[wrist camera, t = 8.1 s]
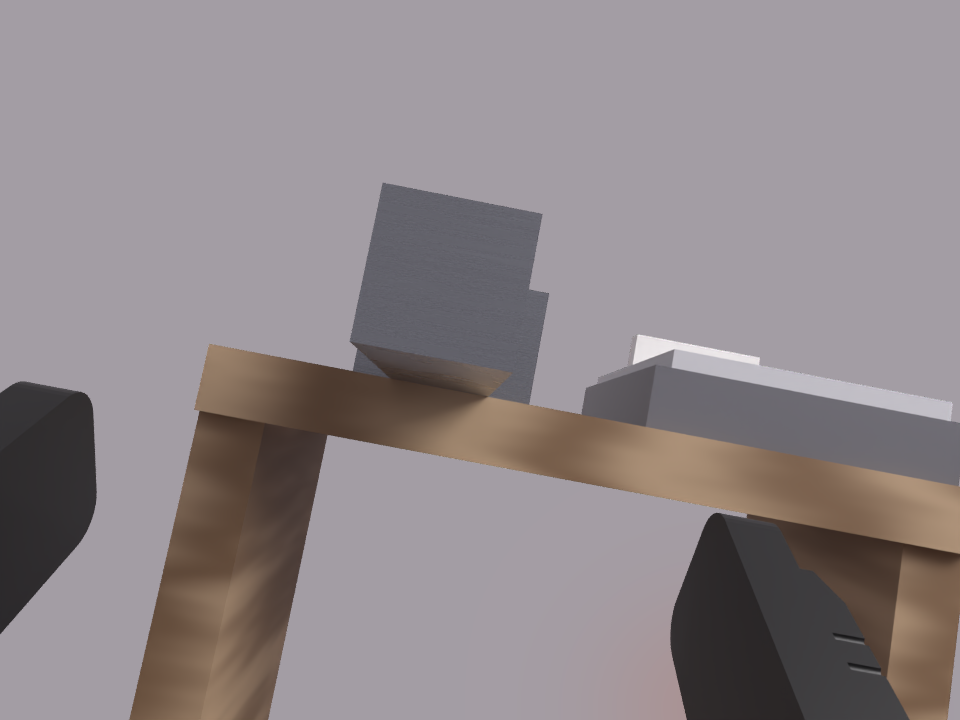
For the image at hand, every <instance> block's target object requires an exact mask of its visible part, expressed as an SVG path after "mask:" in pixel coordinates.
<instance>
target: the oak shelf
mask: <svg viewBox="0 0 960 720" xmlns="http://www.w3.org/2000/svg"><path fill="white" fill-rule="evenodd" d="M195 410H199V411H200V412H199V416H198V421H197V425H196V429H195V434H194V438H193V443H192V447H191V451H190V456H189V460H188V465H187V469H186V474H185V478H184V482H183V487H182V491H181V495H180V500H179V504H178V509H177V513H176V517H175V522H174V526H173V531H172V535H171V539H170V544H169V548H168V553H167V557H166V561H165V566H164V570H163V575H162V579H161V583H160V588H159V592H158V597H157V601H156V606H155V610H154V614H153V619H152V623H151V627H150V632H149V636H148V641H147V645H146V650H145V654H144V658H143V662H142V667H141V671H140V676H139V680H138V684H137V689H136V693H135V698H134V702H133V707H132V711H131V715H130V720H268V717H269V712H270V708H271V703H272V698H273V693H274V688H275V684H276V679H277V674H278V670H279V665H280V660H281V655H282V650H283V645H284V641H285V636H286V631H287V626H288V622H289V617H290V611H291V607H292V602H293V598H294V593H295V588H296V583H297V578H298V574H299V568H300V564H301V559H302V554H303V550H304V545H305V540H306V535H307V530H308V526H309V521H310V516H311V511H312V506H313V501H314V497H315V491H316V487H317V482H318V478H319V473H320V468H321V463H322V459H323V454H324V449H325V444H326V439H327V435H332V436H337V437H343V438H347V439H353V440H358V441H363V442H369V443H374V444H379V445H385V446H390V447H395V448H401V449H406V450H411V451H417V452H422V453H428V454H433V455H438V456H443V457H448V458H454V459H459V460H465V461H470V462H475V463H480V464H486V465H491V466H496V467H502V468H507V469H512V470H518V471H523V472H529V473H534V474H539V475H544V476H550V477H555V478H560V479H565V480H571V481H576V482H582V483H587V484H592V485H597V486H603V487H608V488H613V489H619V490H624V491H629V492H635V493H640V494H645V495H651V496H656V497H662V498H666V499H672V500H677V501H682V502H688V503H693V504H699V505H703V506H709V507H714V508H720V509H725V510H730V511H735V512H741V513H746V514H747V518H748V519H753V520H758V521H764V522H769V523H773V524H775V525H777V526H778V527H779V529H780V530H781V532H782V534H783V536H784V538H785V540H786V542H787V544H788V546H789V548H790V550H791V552H792V554H793V556H794V558H795V560H796V562H797V564H798V566H799V568H800V569H805V570H810V571H814V572H815V573H816V574H817V575H818V576H819V577H820V578H821V579H822V580H823V581H824V582H825V583H826V584H827V585H828V586H829V587H830V588H831V589H832V590H833V591H834V592H835V593H836V594H837V595H838V596H839V597H840V598H841V599H842V600H843V601H844V602H845V603H846V605H847V607H848V609H849V611H850V613H851V614H852V616H853V618H854V620H855V622H856V623H857V625H858V627H859V629H860V631H861V632H862V634H863V636H864V638H865V640H864V644H865V645H867V646H869V647H870V649H871V651H872V652H873V654H874V656H875V658H876V660H877V661H878V663H879V665H880V667H881V676H886V678H887V680H888V681H889V683H890V685H891V687H892V689H893V690H894V692H895V694H896V696H897V698H898V699H899V701H900V703H901V705H902V707H903V708H904V710H905V712H906V714H907V716H908V718H909V719H910V720H947V718H948V708H949V701H950V692H951V683H952V675H953V666H954V657H955V649H956V639H957V631H958V623H959V614H960V487H959V486H954V485H949V484H943V483H938V482H933V481H928V480H922V479H917V478H912V477H907V476H901V475H896V474H891V473H886V472H880V471H875V470H870V469H865V468H859V467H854V466H849V465H844V464H838V463H833V462H828V461H823V460H817V459H812V458H807V457H801V456H796V455H791V454H786V453H780V452H775V451H770V450H765V449H759V448H754V447H749V446H744V445H738V444H733V443H728V442H723V441H717V440H712V439H707V438H702V437H696V436H691V435H686V434H681V433H675V432H670V431H665V430H659V429H654V428H649V427H644V426H638V425H633V424H628V423H623V422H617V421H612V420H607V419H602V418H596V417H591V416H586V415H580V414H575V413H570V412H564V411H559V410H554V409H549V408H544V407H538V406H533V405H528V404H523V403H518V402H512V401H507V400H502V399H496V398H491V397H486V396H481V395H475V394H470V393H465V392H460V391H454V390H449V389H444V388H439V387H433V386H428V385H423V384H418V383H412V382H407V381H402V380H397V379H391V378H386V377H381V376H376V375H370V374H365V373H360V372H354V371H349V370H344V369H338V368H333V367H328V366H322V365H318V364H312V363H307V362H302V361H296V360H291V359H286V358H281V357H275V356H270V355H265V354H260V353H255V352H249V351H244V350H239V349H234V348H228V347H223V346H217V345H212V344H209V347H208V351H207V356H206V360H205V365H204V369H203V373H202V378H201V382H200V387H199V391H198V395H197V400H196V404H195Z"/></svg>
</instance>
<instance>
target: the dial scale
mask: <svg viewBox="0 0 960 720" xmlns="http://www.w3.org/2000/svg"><path fill="white" fill-rule="evenodd" d="M759 360H760V358H758V357H753V356H748V355H743V354H737V353H732V352H727V351H722V350H716V349H712V348H706V347H701V346H696V345H691V344H686V343H680V342H675V341H670V340H665V339H660V338H655V337H649V336H644V335H639V334H637V335H635V336H633V338H632V344H631V349H630V355H629V361H628V367H625V368H623V369H620V370H617V371H615V372H612V373H610V374H607V375H604V376H601V377H599V379H598V384H597V385H594V386H591V387H588V388H586V392H585V398H584V403H583V409H582V415H586V416H591V417H596V418H602V419H607V420H612V421H617V422H623V423H628V424H633V425H638V426H644V427H649V428H654V429H659V430H665V431H670V432H675V433H681V434H686V435H691V436H696V437H702V438H707V439H712V440H717V441H723V442H728V443H733V444H738V445H744V446H749V447H754V448H759V449H765V450H770V451H775V452H780V453H786V454H791V455H796V456H801V457H807V458H812V459H817V460H823V461H828V462H833V463H838V464H844V465H849V466H854V467H859V468H865V469H870V470H875V471H880V472H886V473H891V474H896V475H901V476H907V477H912V478H917V479H922V480H928V481H933V482H938V483H943V484H949V485H954V486H959V477H960V423H957V422H952V421H951V412H952V404H953V403H952V402H948V401H942V400H937V399H932V398H926V397H921V396H916V395H911V394H906V393H901V392H896V391H890V390H885V389H880V388H875V387H870V386H864V385H859V384H854V383H849V382H844V381H838V380H833V379H828V378H823V377H818V376H813V375H807V374H802V373H797V372H791V371H786V370H781V369H776V368H771V367H766V366H760V365H759Z"/></svg>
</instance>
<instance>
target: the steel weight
mask: <svg viewBox="0 0 960 720" xmlns="http://www.w3.org/2000/svg"><path fill="white" fill-rule="evenodd" d="M541 219H542V214H540V213H535V212H529V211H524V210H519V209H514V208H509V207H504V206H498V205H493V204H489V203H483V202H478V201H473V200H468V199H463V198H458V197H453V196H448V195H443V194H438V193H432V192H427V191H422V190H417V189H412V188H407V187H402V186H396V185H391V184H386V183H383V185H382V190H381V194H380V199H379V204H378V209H377V213H376V218H375V223H374V228H373V232H372V238H371V242H370V247H369V252H368V256H367V261H366V266H365V271H364V276H363V281H362V286H361V290H360V295H359V300H358V305H357V309H356V314H355V319H354V324H353V329H352V333H351V338H350V342H351V343H352V344H353V345H354V346H355V347H356V348H358V349H357V354H356V358H355V363H354V368H353V371H354V372H360V373H365V374H370V375H376V376H381V377H386V378H391V379H397V380H402V381H407V382H412V383H418V384H423V385H428V386H433V387H439V388H444V389H449V390H454V391H460V392H465V393H470V394H475V395H481V396H486V397H491V398H496V399H502V400H507V401H512V402H518V403H523V404H528V405H529V402H530V396H531V390H532V385H533V379H534V374H535V368H536V363H537V357H538V352H539V346H540V341H541V335H542V330H543V324H544V319H545V313H546V307H547V302H548V296H549V293H544V292H538V291H533V290H529V284H530V279H531V273H532V268H533V263H534V257H535V252H536V246H537V241H538V235H539V230H540V224H541Z"/></svg>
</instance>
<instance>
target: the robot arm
mask: <svg viewBox="0 0 960 720" xmlns="http://www.w3.org/2000/svg"><path fill="white" fill-rule="evenodd" d="M96 493H97V491H96V468H95V444H94V420H93V407H92V403H91V401H90V399H89V397H88V396H87V395H86V394H85V393H82V392H78V391H72V390H67V389H62V388H56V387H51V386H46V385H40V384H35V383H30V382H18V383H15V384H13V385H11V386H10V387H8V388H7V389H5V390H4V391H3V392H1V393H0V634H1V633H2V632H3V630H4V629H5V628H6V627H7V626H8V625H9V623H10V622H11V621H12V620H13V619H14V618H15V617H16V615H17V614H18V613H19V612H20V611H21V610H22V609H23V607H24V606H25V605H26V604H27V603H28V602H29V600H30V599H31V598H32V597H33V596H34V595H35V594H36V592H37V591H38V590H39V589H40V588H41V587H42V585H43V584H44V583H45V582H46V581H47V580H48V579H49V577H50V576H51V575H52V574H53V573H54V572H55V571H56V570H57V568H58V567H59V566H60V565H61V564H62V563H63V561H64V560H65V559H66V558H67V557H68V556H69V555H70V553H71V552H72V551H73V550H74V549H75V548H76V547H77V545H78V544H79V543H80V541H81V540H82V539H83V537H84V535H85V533H86V532H87V530H88V527H89V525H90V523H91V520H92V517H93V514H94V510H95V505H96ZM864 640H865V638H864V636H863V634H862V632H861V631H860V629H859V627H858V625H857V623H856V622H855V620H854V618H853V616H852V614H851V613H850V611H849V609H848V607H847V605H846V603H845V602H844V601H843V600H842V599H841V598H840V597H839V596H838V595H837V594H836V593H835V592H834V591H833V590H832V589H831V588H830V587H829V586H828V585H827V584H826V583H825V582H824V581H823V580H822V579H821V578H820V577H819V576H818V575H817V574H816V573H815V572H814V571H810V570H805V569H800V568H799V566H798V564H797V562H796V560H795V558H794V556H793V554H792V552H791V550H790V548H789V546H788V544H787V542H786V540H785V538H784V536H783V534H782V532H781V530H780V529H779V527H778V526H777V525H775V524H773V523H769V522H764V521H758V520H753V519H748V518H741V517H737V516H731V515H726V514H721V513H715V514H713V515H712V516H710V518H709V519H708V521H707V522H706V524H705V527H704V529H703V531H702V534H701V537H700V540H699V542H698V545H697V548H696V550H695V553H694V555H693V558H692V561H691V563H690V566H689V568H688V571H687V574H686V576H685V579H684V582H683V584H682V587H681V590H680V593H679V595H678V598H677V600H676V603H675V606H674V610H673V615H672V622H671V651H672V657H673V661H674V665H675V670H676V674H677V679H678V683H679V687H680V692H681V696H682V701H683V705H684V709H685V713H686V718H687V720H910V719H909V718H908V716H907V714H906V712H905V710H904V708H903V707H902V705H901V703H900V701H899V699H898V698H897V696H896V694H895V692H894V690H893V689H892V687H891V685H890V683H889V681H888V680H887V678H886V676H881V667H880V665H879V663H878V661H877V660H876V658H875V656H874V654H873V652H872V651H871V649H870V647H869V646H867V645H865V644H864Z"/></svg>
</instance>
